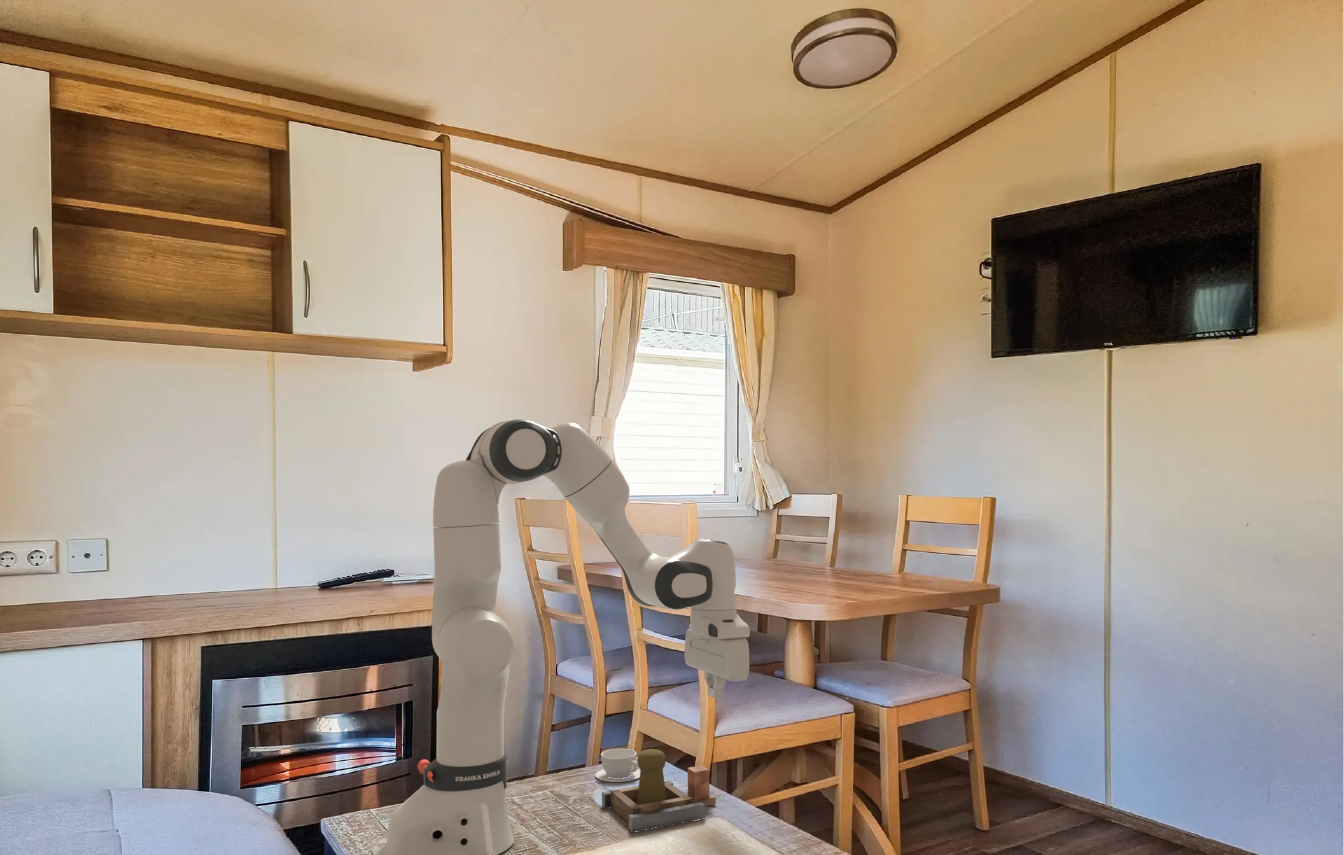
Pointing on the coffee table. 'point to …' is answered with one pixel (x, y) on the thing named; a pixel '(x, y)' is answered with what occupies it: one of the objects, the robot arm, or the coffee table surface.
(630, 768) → the teacup
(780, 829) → the coffee table surface
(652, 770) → the cork
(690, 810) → the lane rails
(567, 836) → the coffee table surface
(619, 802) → the frame
